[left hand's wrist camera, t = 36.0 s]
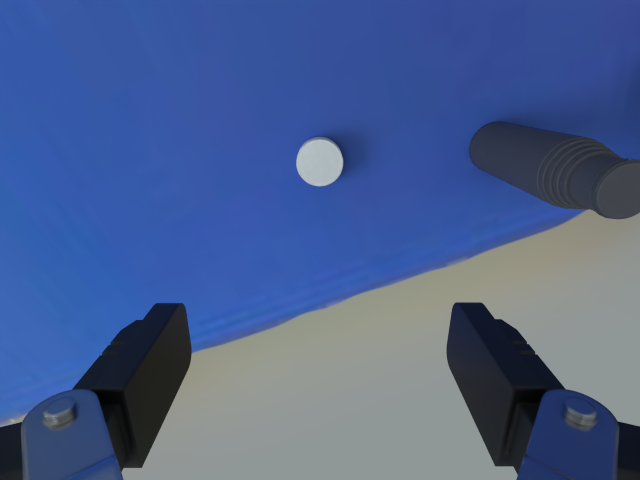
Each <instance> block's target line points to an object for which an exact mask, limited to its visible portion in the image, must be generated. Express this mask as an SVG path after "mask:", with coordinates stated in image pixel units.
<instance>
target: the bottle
mask: <svg viewBox="0 0 640 480" xmlns="http://www.w3.org/2000/svg"><path fill="white" fill-rule="evenodd" d="M470 157H471V160H472V162H473V163H474V165H475V166H476V167H478V168H479V169H481V170H483V171H485V172H487V173H489V174H491V175H493V176H495V177H497V178H499V179H501V180H503V181H505V182H507V183H509V184H511V185H513V186H515V187H517V188H519V189H521V190H523V191H525V192H527V193H529V194H531V195H533V196H535V197H537V198H539V199H541V200H543V201H545V202H547V203H549V204H551V205H554V206H557V207H561V208H569V209H591V210H593V211H595V212H596V213H598V214H599V215H601V216H603V217H606V218H612V219H624V218H629V217H632V216H634V215H636V214H638V213H639V212H640V161H639V160H628V159H623V158H620V157H619V156H618V155H616V154H615V153H614V152H612V151H611V150H610V149H609V148H607V147H606V146H605V145H603V144H602V143H600V142H598V141H595V140H593V139H591V138H586V137H581V136H575V135H570V134H564V133H559V132H553V131H548V130H542V129H537V128H531V127H526V126H520V125H515V124H509V123H504V122H493V123H489V124H487V125H485V126H483V127H482V128H481V129H479V130H478V131H477V132H476V134H475V135H474V137H473V139H472V141H471V144H470Z"/></svg>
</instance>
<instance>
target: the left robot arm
mask: <svg viewBox="0 0 640 480" xmlns="http://www.w3.org/2000/svg"><path fill="white" fill-rule="evenodd" d="M447 360H448V364H449V367H450V370H451V372H452V374H453V376H454V378H455V380H456V383H457V385H458V387H459V389H460V391H461V393H462V396H463V398H464V400H465V402H466V404H467V406H468V408H469V411H470V413H471V415H472V417H473V419H474V421H475V424H476V426H477V428H478V430H479V432H480V434H481V436H482V438H483V441H484V443H485V445H486V447H487V449H488V451H489V454H490V456H491V458H492V460H493V462H494V464H495V466H514V468H515V470H516V472H517V474H518V477H517V480H640V427H639V426H634V425H630V424H626V423H622V422H618V421H617V420H616V418H615V417H614V415H613V414H612V413H611V412H610V411H609V410H608V409H607V408H606V407H605V406H603V405H602V404H601V403H599V402H598V401H596V400H594V399H593V398H591V397H589V396H586V395H584V394H582V393H579V392H576V391H571V390H566V389H565V388H564V387H563V386H562V384H561V383H560V382H559V381H558V379H557V378H556V377H555V376H554V375H553V373H552V372H551V371H550V370H549V368H548V367H547V366H546V365H545V364H544V362H543V361H542V360H541V359H540V357H539V356H538V355H535V351H534V350H533V349H532V348H531V346H530V345H529V344H527V342H526V340H525V339H524V338H523V337H522V335H521V334H520V333H519V332H518V331H517V330H516V329H515V328H513V327H512V326H510V325H509V324H507V323H506V322H504V321H503V320H501V319H494V317H493V316H492V315H491V313H490V312H489V311H488V309H487V308H486V307H485V305H484V304H483V303H455V304H454V305H453V308H452V314H451V321H450V327H449V334H448V341H447ZM190 361H191V342H190V335H189V328H188V321H187V314H186V309H185V306H184V304H182V303H156V304H155V305H154V306H153V307H152V308H151V310H150V311H149V312H148V314H147V315H146V316H145V318H144V319H143V320H136V321H134V322H133V323H131V324H130V325H128V326H127V327H125V328H124V329H122V330H121V331H120V332H119V333H118V334H117V336H116V337H115V338H114V339H113V340H112V342H111V345H108V347H107V348H106V349H105V350H104V351H103V353H102V356H99V357H98V359H97V360H96V361H95V362H94V363H93V365H92V366H91V367H90V368H89V370H88V371H87V372H86V373H85V374H84V376H83V377H82V378H81V379H80V380H79V382H78V383H77V384H76V385H75V386H74V388H73V389H72V390H68V391H64V392H61V393H58V394H56V395H54V396H51V397H49V398H47V399H46V400H44V401H42V402H41V403H39V404H38V405H37V406H35V407H34V408H33V409H32V410H31V411H30V412H29V413H28V414H27V415H26V417H25V418H24V420H23V422H20V423H16V424H12V425H8V426H4V427H0V480H123V477H122V473H121V472H122V470H123V468H142V466H143V464H144V462H145V460H146V458H147V456H148V453H149V451H150V449H151V447H152V445H153V443H154V441H155V439H156V436H157V434H158V432H159V430H160V428H161V426H162V424H163V422H164V419H165V417H166V415H167V413H168V411H169V409H170V407H171V405H172V402H173V400H174V398H175V396H176V394H177V392H178V390H179V388H180V385H181V383H182V381H183V379H184V377H185V375H186V373H187V371H188V368H189V365H190Z"/></svg>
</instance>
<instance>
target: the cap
mask: <svg viewBox="0 0 640 480" xmlns="http://www.w3.org/2000/svg"><path fill="white" fill-rule="evenodd" d="M342 168H343V157H342V154H341V151H340V149H339V147H338V146H337V144H336V143H335V142H333V141H332V140H330V139H328V138H325V137H315V138H312V139H309V140H308V141H306V142H305V143H304V144H303V145H302V147H301V148H300V150H299V153H298V156H297V169H298V172H299V174H300V176H301V177H302V178H303V179H304V180H305V181H306V182H307V183H309V184H311V185H314V186H325V185H328V184H331V183H332V182H334V181H335V180H336V179H337V178H338V177H339V175H340V174H341V171H342Z"/></svg>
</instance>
